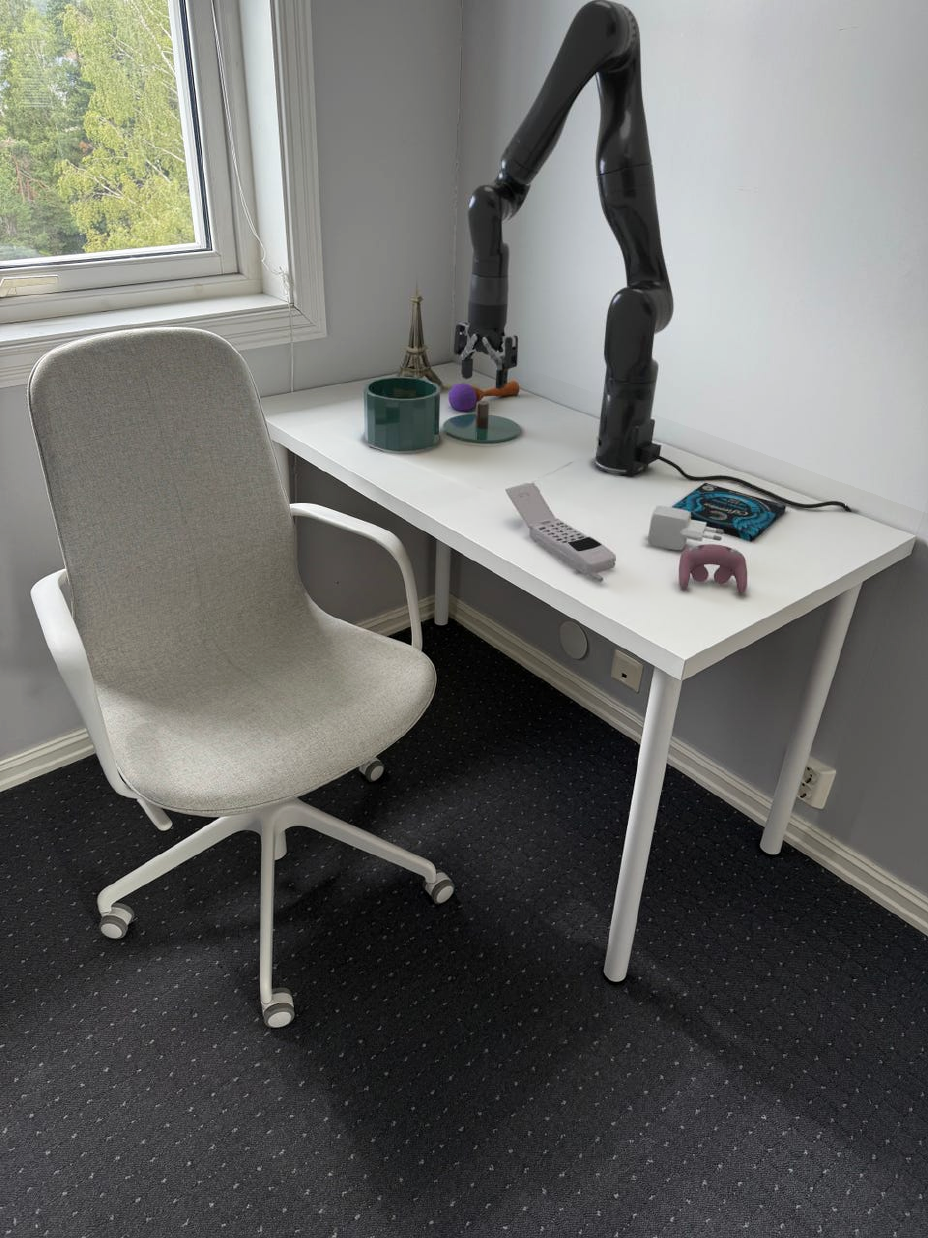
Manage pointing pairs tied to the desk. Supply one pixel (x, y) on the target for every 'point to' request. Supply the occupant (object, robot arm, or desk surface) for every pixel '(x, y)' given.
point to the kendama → (477, 394)
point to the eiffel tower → (417, 348)
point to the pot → (401, 413)
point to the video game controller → (716, 555)
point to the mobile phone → (560, 534)
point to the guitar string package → (731, 511)
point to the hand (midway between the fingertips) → (483, 382)
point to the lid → (481, 426)
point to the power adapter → (677, 528)
